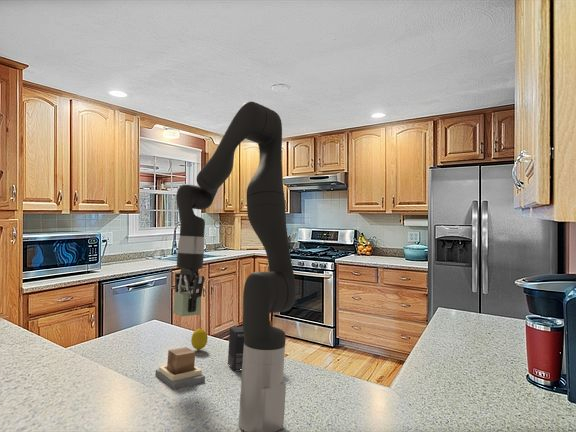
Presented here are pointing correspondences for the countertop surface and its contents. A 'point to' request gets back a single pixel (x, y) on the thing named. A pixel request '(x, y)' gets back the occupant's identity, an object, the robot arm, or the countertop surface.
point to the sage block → (184, 304)
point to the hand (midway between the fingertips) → (186, 310)
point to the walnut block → (180, 360)
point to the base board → (180, 377)
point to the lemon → (199, 339)
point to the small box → (236, 348)
